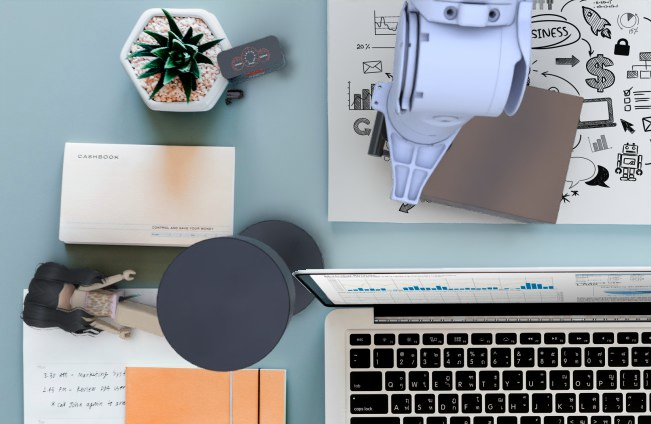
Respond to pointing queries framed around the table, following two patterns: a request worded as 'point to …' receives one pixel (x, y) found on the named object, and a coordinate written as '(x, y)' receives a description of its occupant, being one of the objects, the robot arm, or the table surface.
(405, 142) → the robot arm
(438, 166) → the cabinet
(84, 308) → the toy figure
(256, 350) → the desk lamp
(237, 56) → the black dial device
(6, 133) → the table surface
